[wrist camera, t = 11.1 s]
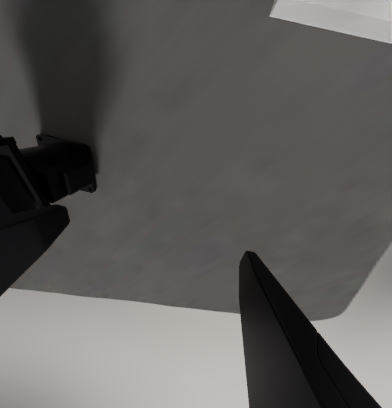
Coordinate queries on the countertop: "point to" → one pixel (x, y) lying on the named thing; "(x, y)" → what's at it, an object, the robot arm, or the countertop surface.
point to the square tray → (340, 16)
